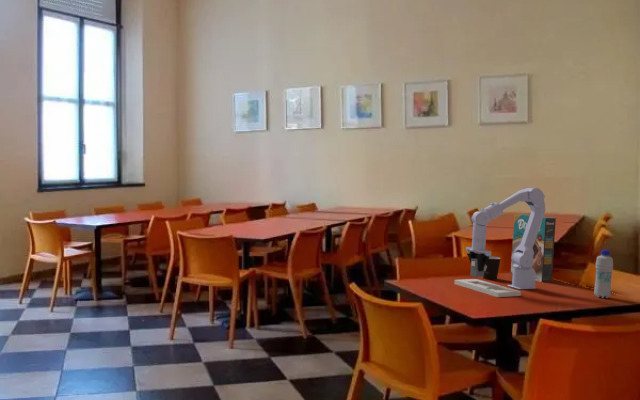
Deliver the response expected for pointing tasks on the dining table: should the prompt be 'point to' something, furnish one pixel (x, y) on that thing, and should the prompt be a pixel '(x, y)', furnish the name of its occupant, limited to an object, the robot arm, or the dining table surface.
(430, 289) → the dining table surface
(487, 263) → the coffee mug
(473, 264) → the plug
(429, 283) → the dining table surface
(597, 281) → the bottle
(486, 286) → the panel
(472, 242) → the robot arm
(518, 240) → the cake mix box
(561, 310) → the dining table surface
